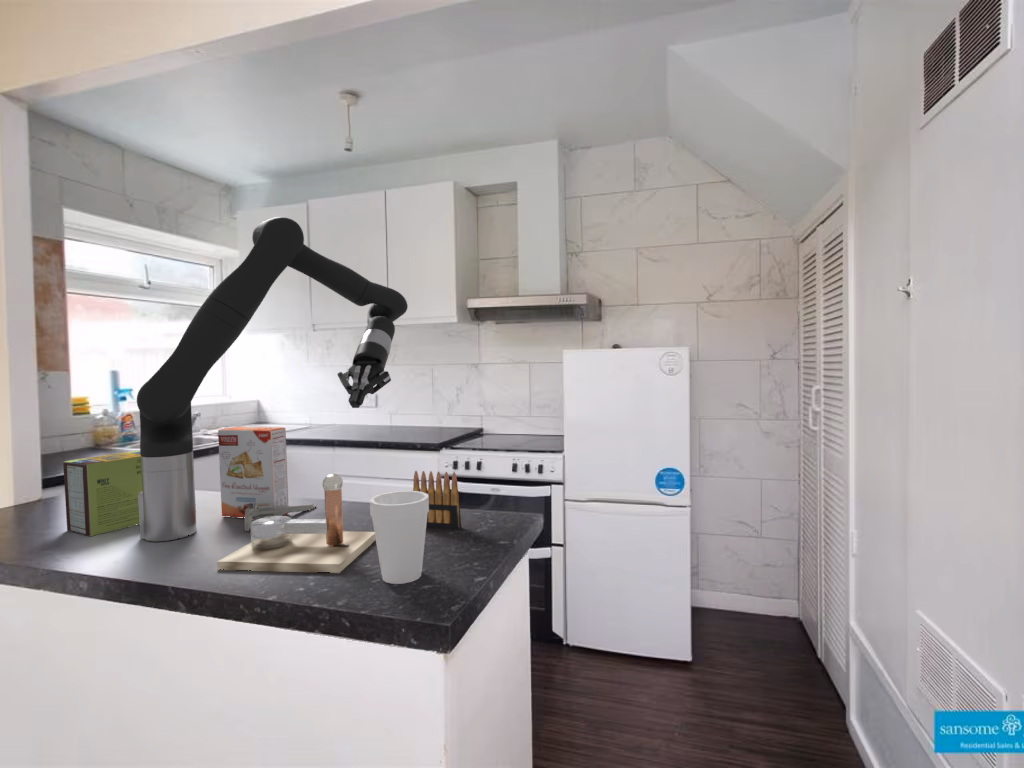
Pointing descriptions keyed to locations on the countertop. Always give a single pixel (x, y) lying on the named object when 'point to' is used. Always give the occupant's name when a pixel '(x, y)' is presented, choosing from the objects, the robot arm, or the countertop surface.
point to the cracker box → (252, 468)
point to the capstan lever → (303, 521)
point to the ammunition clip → (440, 501)
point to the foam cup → (400, 533)
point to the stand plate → (301, 554)
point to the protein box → (102, 492)
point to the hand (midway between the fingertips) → (354, 405)
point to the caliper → (270, 512)
